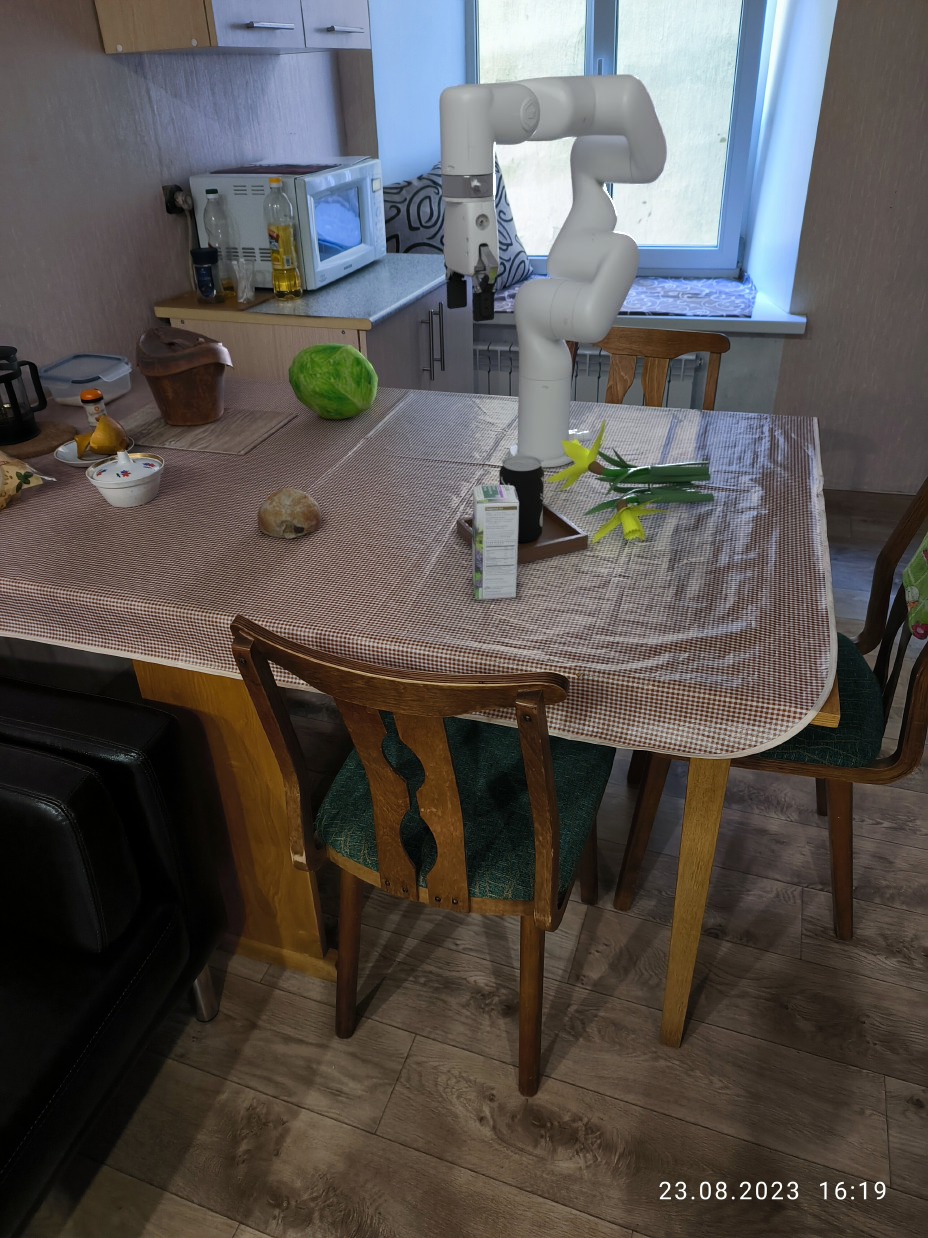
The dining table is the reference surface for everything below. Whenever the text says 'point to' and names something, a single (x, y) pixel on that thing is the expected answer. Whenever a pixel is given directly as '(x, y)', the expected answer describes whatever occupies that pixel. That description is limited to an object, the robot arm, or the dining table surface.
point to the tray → (541, 537)
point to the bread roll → (289, 514)
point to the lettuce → (333, 380)
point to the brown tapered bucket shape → (183, 374)
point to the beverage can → (526, 493)
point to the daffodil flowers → (632, 475)
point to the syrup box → (495, 541)
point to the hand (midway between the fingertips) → (470, 313)
